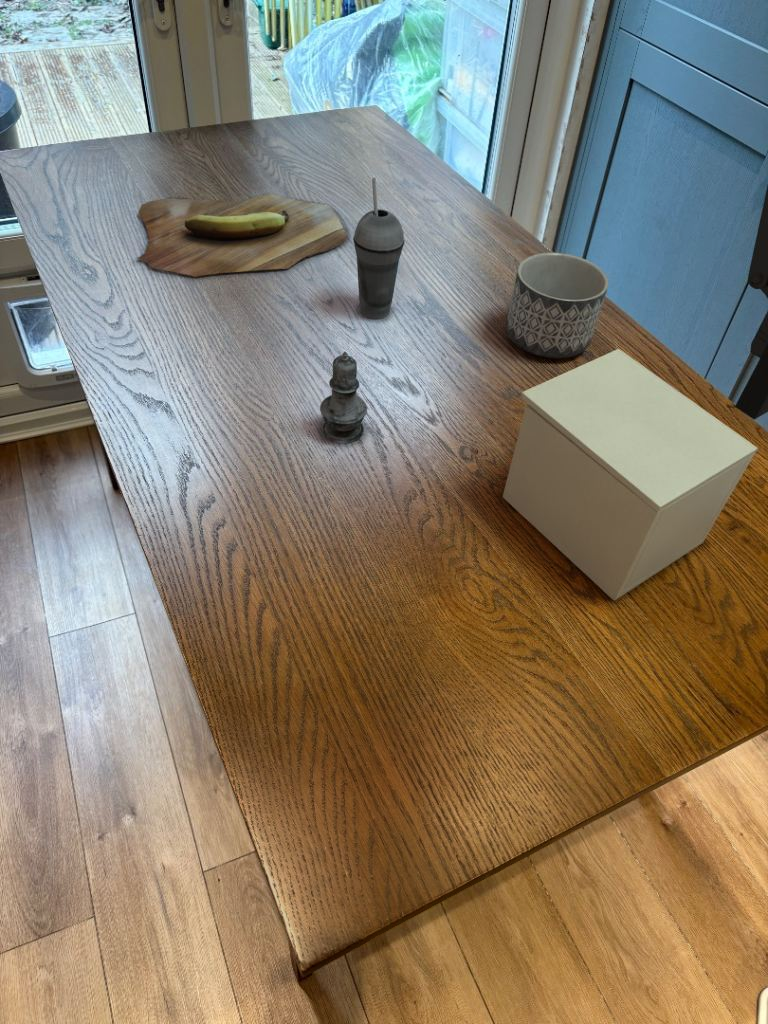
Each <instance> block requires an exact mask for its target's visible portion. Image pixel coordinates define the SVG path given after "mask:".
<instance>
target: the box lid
mask: <svg viewBox="0 0 768 1024" xmlns="http://www.w3.org/2000/svg"><path fill="white" fill-rule="evenodd" d="M520 399H521V400H523V401H524V402H525V403H526V404H527V405H530V406H531V407H532V408H533V409H534V410H536V411H537V412H538V413H539V414H540V415H542V416H543V417H544V418H545V419H546V420H548V421H549V422H550V423H551V424H552V425H554V426H555V427H556V428H557V429H558V430H560V431H561V432H562V433H563V434H564V435H566V436H567V437H568V438H569V439H570V440H572V441H573V442H574V443H575V444H576V445H578V446H579V447H580V448H581V449H582V450H583V451H585V452H586V453H587V454H588V455H589V456H591V457H592V458H593V459H594V460H595V461H597V462H598V463H599V464H600V465H601V466H603V467H604V468H605V469H606V470H607V471H609V472H610V473H611V474H612V475H613V476H615V477H616V478H617V479H618V480H619V481H621V482H622V483H623V484H624V485H625V486H627V487H628V488H629V489H630V490H631V491H633V492H634V493H635V494H636V495H637V496H639V497H640V498H641V499H642V500H643V501H645V502H646V503H647V504H648V505H649V506H651V507H652V508H653V509H654V510H655V511H657V512H659V511H661V510H662V509H664V508H666V507H667V506H669V505H671V504H672V503H674V502H676V501H677V500H679V499H680V498H682V497H684V496H685V495H687V494H689V493H690V492H692V491H694V490H695V489H697V488H699V487H700V486H702V485H704V484H705V483H707V482H709V481H710V480H712V479H713V478H715V477H717V476H718V475H720V474H722V473H723V472H725V471H727V470H728V469H730V468H732V467H733V466H735V465H737V464H738V463H740V462H741V461H743V460H745V459H746V458H748V457H750V456H751V455H753V454H754V455H755V454H756V453H757V451H758V449H759V448H758V447H757V446H755V445H754V443H753V444H752V442H750V441H748V440H747V439H746V438H744V437H743V436H742V435H740V434H739V433H737V432H736V431H734V430H733V429H732V428H730V427H729V426H728V425H727V424H726V423H725V424H724V422H722V421H721V420H719V419H718V418H716V417H715V416H714V415H712V414H711V413H710V412H708V411H707V410H705V409H704V408H702V407H701V406H700V405H698V404H697V403H696V402H694V401H693V400H691V399H690V398H689V397H687V396H686V395H684V394H683V393H681V392H680V391H679V390H677V389H676V388H675V387H673V386H671V384H669V383H668V382H666V381H665V380H663V379H662V378H660V376H657V374H655V373H653V371H651V370H649V369H648V368H646V367H645V366H644V365H642V364H641V363H639V361H637V360H635V359H634V358H633V357H631V356H630V355H628V354H627V353H626V352H624V351H623V350H622V349H619V348H617V349H615V350H613V351H610V352H608V353H605V354H604V355H601V356H600V357H599V356H598V357H597V358H595V359H593V360H591V361H588V362H586V363H584V364H581V365H580V366H577V367H574V368H573V369H571V370H568V371H566V372H563V373H561V374H560V375H557V376H555V377H553V378H550V379H547V380H546V381H544V382H542V383H539V384H537V385H535V386H532V387H531V388H529V389H526V390H524V391H522V392H521V394H520Z"/></svg>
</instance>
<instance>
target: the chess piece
mask: <svg viewBox="0 0 768 1024" xmlns="http://www.w3.org/2000/svg"><path fill="white" fill-rule="evenodd" d="M357 372H358V364H357V360H356V359H355V358H354V357H353V356H350V355H349V353H348V352H346V351H344V352H342V354H341V355H338V356H336V357H335V358H334V359H333V361H332V377H331V378H330V379H329V382H328V385H329V387H330V389H331V394H330V395H328V396H327V397H325V398H323V400H322V401H321V403H320V405H319V411H320V414H321V416H322V417H323V418H322V419H323V420H324V423H323V425H322V434H323V435H324V437H325V438H326V439H327V440H329V441H330V442H333V443H336V444H344V445H347V444H352V443H355V442H357V441H358V440H360V439H361V438H362V436H363V435H364V432H365V428H364V425H363V423H362V422H363V421H364V418H365V417H366V416H367V413H368V405H367V403H366V401H364V399H363V398H361V397H359V396H358V395H357V390H358V389H359V387H360V381H359V379H358V378H357V375H358V374H357Z"/></svg>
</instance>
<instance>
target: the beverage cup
mask: <svg viewBox="0 0 768 1024" xmlns="http://www.w3.org/2000/svg"><path fill="white" fill-rule="evenodd" d="M371 183H372V185H371V186H372V200H373V201H372V202H373V209H372V210H371V211H368V212H367V213H365V214H363V216H362V217H361V218H360V219H359V221H358V222H357V225H356V227H355V230H354V235H353V238H352V240H353V244H354V249H355V250H354V251H355V255H356V268H357V270H356V271H357V285H358V287H357V288H358V302H359V308H360V309H359V312H360V314H361V316H363V317H364V318H367V319H370V320H382V319H386V318H387V317H388V316H389V315H390V313H391V308H392V304H393V298H394V292H395V286H396V280H397V274H398V268H399V263H400V259H401V257H402V256H401V255H402V251H403V248H404V246H405V241H406V240H405V235H404V229H403V226H402V224H401V221H400V220H399V218H397V216H395V214H394V213H392V212H390V211H388V210H386V209H379V208H378V195H377V194H378V193H377V180H376V177H372V178H371Z"/></svg>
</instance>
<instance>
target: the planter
mask: <svg viewBox="0 0 768 1024" xmlns="http://www.w3.org/2000/svg"><path fill="white" fill-rule="evenodd" d="M516 271H517V272H516V275H515V280H514V284H513V290H512V294H511V299H510V304H509V308H508V312H507V317H506V323H505V331H506V334H507V336H508V338H509V339H510V340H511V342H512V343H513V344H514V345H516V346H517V347H519V348H520V349H522V350H523V351H525V352H527V353H529V354H532V355H535V356H539V357H542V358H548V359H567V358H572V357H576V356H578V355H580V354H581V353H583V352H585V351H586V350H587V349H588V348H589V346H590V345H591V343H592V339H593V337H594V333H595V329H596V327H597V323H598V321H599V317H600V314H601V310H602V307H603V305H604V302H605V298H606V295H607V291H608V289H609V285H610V284H609V278H608V276H607V274H606V273H605V272H604V271H603V269H601V268H600V266H598V265H597V264H595V263H593V262H591V261H590V260H587V259H585V258H583V257H579V256H577V255H573V254H569V253H563V252H541V253H536V254H532V255H530V256H528V257H525V258H524V259H523V260H522V261H521V262H520V263H519V264H518V266H517V270H516Z"/></svg>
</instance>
